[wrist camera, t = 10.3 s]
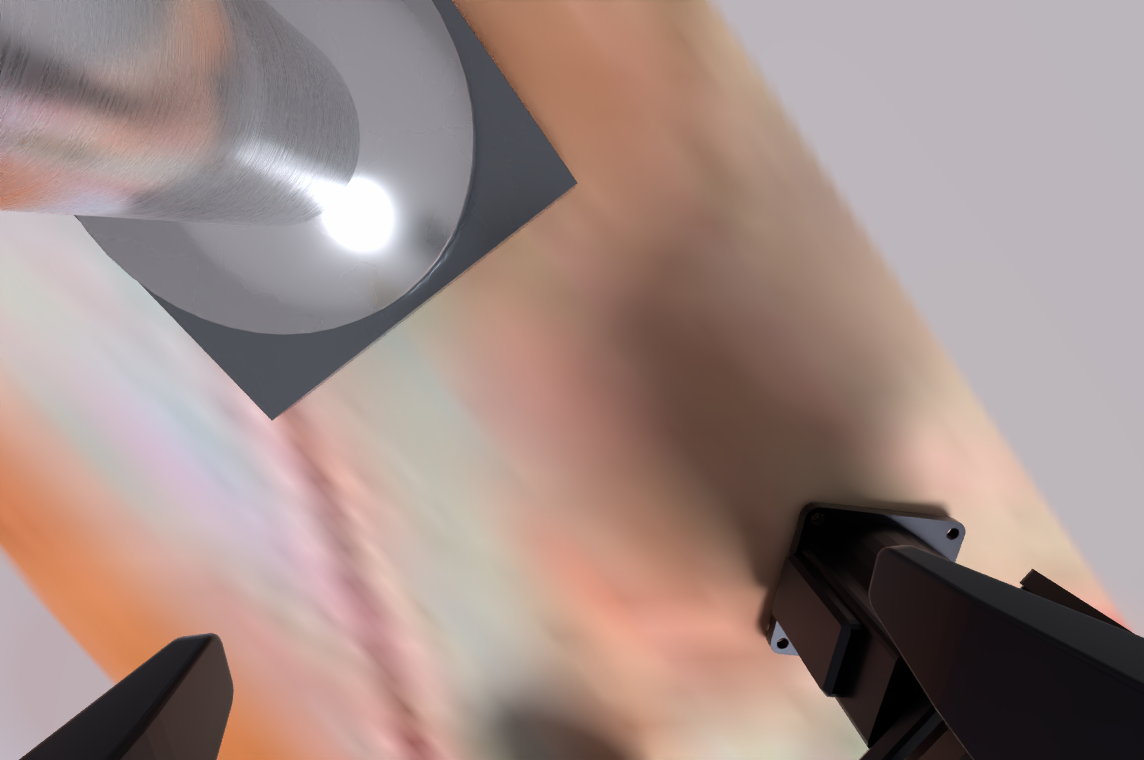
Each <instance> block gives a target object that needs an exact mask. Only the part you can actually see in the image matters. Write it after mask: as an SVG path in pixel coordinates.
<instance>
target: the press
mask: <svg viewBox="0 0 1144 760" xmlns="http://www.w3.org/2000/svg"><path fill="white" fill-rule="evenodd" d="M265 1H266V2H268V3H269V4H270V5H271V6H272V7H273V8H274V9H275V10H276V11H278V12H279V13H280V14H281V15H282V16H283V17H284V18H285V19H286V20H288V21H289V22H290V23H291V24H292V25H293V26H294V27H295V28H296V29H298V30H299V31H300V32H301V33H302V34H303V35H304V36H305V37H307V38H308V39H309V40H310V41H311V42H312V43H313V44H314V45H315V46H317V47H318V48H319V49H320V50H321V51H322V52H323V53H324V54H325V55H326V56H327V57H328V58H329V59H330V61H331V62H332V63H333V65H334V66H335V67H336V69H337V70H338V71H339V73H340V74H341V76H342V78H343V79H344V81H345V83H346V85H347V87H348V89H349V91H350V93H351V95H352V98H353V101H354V104H355V107H356V111H357V116H358V121H359V130H360V148H359V155H358V160H357V164H356V168H355V171H354V174H353V176H352V178H351V180H350V182H349V184H348V186H347V188H346V189H345V191H344V192H343V194H342V195H341V196H340V197H339V199H338V200H337V201H336V202H335V203H334V204H333V205H332V206H331V207H329V208H328V209H327V210H326V211H325V212H323V213H321V214H320V215H318V216H316V217H315V218H313V219H310V220H308V221H305V222H303V223H299V224H295V225H291V226H283V227H264V226H247V225H231V224H214V223H198V222H181V221H165V220H149V219H132V218H116V217H99V216H83V215H74V216H75V217H76V218H77V219H78V220H79V221H80V222H81V223H82V225H83V226H84V228H85V229H86V230H87V232H88V233H89V234H90V235H91V236H92V238H93V239H94V240H95V241H96V242H97V243H98V244H99V246H100V247H101V248H102V249H103V250H104V251H105V253H106V254H107V255H108V256H109V257H110V258H111V259H113V260H114V261H115V262H116V263H117V264H118V265H119V266H120V267H121V268H122V269H123V270H124V271H125V272H127V273H128V274H129V275H130V276H131V277H132V278H134V279H135V280H137V281H138V282H139V283H140V284H141V285H142V286H143V287H144V288H145V289H146V290H147V291H148V292H149V294H150V295H151V296H152V297H153V298H154V299H155V300H156V301H157V302H158V303H159V304H160V305H161V306H162V307H163V308H164V309H165V310H166V311H167V312H168V313H169V314H170V315H171V316H172V317H173V318H174V319H175V320H176V322H177V323H178V324H179V325H180V326H181V327H182V328H183V329H184V330H185V331H186V332H187V333H188V334H189V335H190V336H191V337H192V338H193V339H194V340H195V341H196V342H197V343H198V344H199V345H200V346H201V347H202V349H203V350H204V351H205V352H206V353H207V354H208V355H209V356H210V357H211V358H212V359H213V360H214V361H215V362H216V363H217V364H218V365H219V366H220V367H221V368H222V369H223V370H224V371H225V372H226V373H227V374H228V376H229V377H230V378H231V379H232V380H233V381H234V382H235V383H236V384H237V385H238V386H239V387H240V388H241V389H242V390H243V391H244V392H245V393H246V394H247V395H248V396H249V397H250V398H251V399H252V400H253V401H254V402H255V404H256V405H257V406H258V407H259V408H260V409H261V410H262V411H263V412H264V413H265V414H266V415H267V416H268V417H269V418H270V419H271V420H273V419H275V418H276V417H278V416H279V415H281V414H282V413H284V412H285V411H287V410H288V409H290V408H291V407H293V406H294V405H295V404H297V403H298V402H299V401H301V400H302V399H303V398H304V397H306V396H307V395H308V394H310V393H311V392H312V391H313V390H315V389H316V388H317V387H319V386H320V385H321V384H322V383H324V382H325V381H326V380H328V379H329V378H330V377H331V376H333V375H334V374H335V373H337V372H338V371H339V370H340V369H342V368H343V367H344V366H346V365H347V364H348V363H349V362H351V361H352V360H353V359H355V358H356V357H357V356H358V355H360V354H361V353H362V352H364V351H365V350H366V349H367V348H369V347H370V346H371V345H373V344H374V343H375V342H377V341H378V340H379V339H380V338H382V337H383V336H384V335H386V334H387V333H388V332H389V331H391V330H392V329H393V328H395V327H396V326H397V325H398V324H400V323H401V322H402V321H404V320H405V319H406V318H407V317H409V316H410V315H411V314H413V313H414V312H415V311H416V310H418V309H419V308H420V307H422V306H423V305H424V304H425V303H427V302H428V301H429V300H431V299H432V298H433V297H434V296H436V295H437V294H438V293H440V292H441V291H442V290H443V289H445V288H446V287H447V286H449V285H450V284H451V283H452V282H454V281H455V280H456V279H458V278H459V277H460V276H461V275H463V274H464V273H465V272H467V271H468V270H469V269H470V268H472V267H473V266H474V265H476V264H477V263H478V262H480V261H481V260H482V259H483V258H485V257H486V256H487V255H489V254H490V253H491V252H492V251H494V250H495V249H496V248H498V247H499V246H500V245H501V244H503V243H504V242H505V241H507V240H508V239H509V238H510V237H512V236H513V235H514V234H516V233H517V232H518V231H519V230H521V229H522V228H523V227H525V226H526V225H527V224H528V223H530V222H531V221H532V220H534V219H535V218H536V217H537V216H539V215H540V214H541V213H543V212H544V211H545V210H546V209H548V208H549V207H550V206H552V205H553V204H554V203H555V202H557V201H558V200H559V199H561V198H562V197H563V196H564V195H566V194H567V193H568V192H570V191H571V190H572V189H574V187H575V186H576V184H577V182H576V180H575V179H574V177H573V176H572V174H571V173H570V171H569V170H568V169H567V167H566V166H565V164H564V163H563V161H562V160H561V158H560V157H559V155H558V154H557V153H556V151H555V150H554V148H553V147H552V145H551V144H550V142H549V141H548V140H547V138H546V137H545V135H544V134H543V132H542V131H541V129H540V128H539V127H538V125H537V124H536V122H535V121H534V119H533V118H532V116H531V115H530V113H529V112H528V111H527V109H526V108H525V106H524V105H523V103H522V102H521V100H520V99H519V98H518V96H517V95H516V93H515V92H514V90H513V89H512V87H511V86H510V85H509V83H508V82H507V80H506V79H505V77H504V76H503V74H502V73H501V71H500V70H499V69H498V67H497V66H496V64H495V63H494V61H493V60H492V58H491V57H490V56H489V54H488V53H487V51H486V50H485V48H484V47H483V45H482V44H481V43H480V41H479V40H478V38H477V37H476V35H475V34H474V32H473V31H472V29H471V28H470V27H469V25H468V24H467V22H466V21H465V19H464V18H463V16H462V15H461V14H460V12H459V11H458V9H457V8H456V6H455V5H454V3H453V2H452V1H451V0H265Z"/></svg>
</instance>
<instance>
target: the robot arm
mask: <svg viewBox="0 0 1144 760" xmlns="http://www.w3.org/2000/svg"><path fill="white" fill-rule="evenodd" d="M816 513H819V516H818V518H816V519H815V520H812V517H813V515H815V514H816ZM950 529H951V530H950ZM948 530H950V532H949V533H947V532H948ZM964 536H965V528H964V526H963V525H962V524H961V523H959V522H958V521H956V520H955V519H953V518H950V517H944V516H935V515H926V514H917V513H908V512H899V511H890V510H882V509H873V508H864V507H855V506H846V505H837V504H828V503H819V502H812V503H809V504H807V505H805V506H804V507H803V508H802V510H801V512H800V516H799V519H798V523H797V527H796V530H795V534H794V538H793V541H792V545H791V549H790V552H789V554H788V556H787V557H786V558H785V561H784V565H783V569H782V572H781V576H780V580H779V583H778V587H777V591H776V594H775V598H774V602H773V605H772V609H771V612H772V618H771V622H770V625H769V629H768V633H767V642H768V644H769V645H770V647H771V649H772V650H773V651H774V652H775V653H778V654H785V655H797V656H800V658H801V659H802V661H803V662H804V664H805V666H806V667H807V669H808V670H809V672H810V673H811V675H812V677H813V678H814V680H815V681H816V683H817V684H818V686H819V688H820V689H821V690H822V692H823V693H824V694H825V695H826V696H827V697H835V698H836V700H837V701H838V703H839V704H840V706H841V707H842V709H843V710H844V712H845V713H846V715H847V716H848V718H849V719H850V721H851V722H852V724H853V725H854V727H855V728H856V730H857V731H858V733H859V734H860V736H861V738H862V739H863V741H864V742H865V744H866V745H867V747H868V748H869V749H868V750H867V752H866V753H865V754H864V755H863V756H862V757H861V758H860V759H859V760H1144V638H1143V637H1140V636H1138V635H1135V634H1134V633H1132V632H1131V631H1129V630H1128V629H1126V628H1125V627H1123V626H1121V625H1120V624H1118V623H1117V622H1115V621H1114V620H1112V619H1110V618H1109V617H1107V616H1106V615H1104V614H1103V613H1101V612H1099V611H1098V610H1096V609H1095V608H1093V607H1092V606H1090V605H1089V604H1087V603H1085V602H1084V601H1082V600H1081V599H1079V598H1078V597H1076V596H1074V595H1073V594H1071V593H1070V592H1068V591H1067V590H1065V589H1063V588H1062V587H1060V586H1059V585H1057V584H1056V583H1054V582H1052V581H1051V580H1049V579H1048V578H1046V577H1045V576H1043V575H1042V574H1040V573H1038V572H1037V571H1035V570H1034V569H1032V570H1031V571H1030V572H1029V573H1028V574H1027V575H1026V576H1025V577H1024V578H1023V579H1022V581H1021V582H1020V584H1022V585H1023V586H1022V587H1021V588H1017V587H1015V586H1012V585H1010V584H1007V583H1005V582H1002V581H999V580H997V579H994V578H992V577H989V576H987V575H984V574H982V573H979V572H977V571H974V570H972V569H969V568H967V567H964V566H962V565H959V564H957V563H955V561H956V558H957V555H958V553H959V550H960V547H961V544H962V541H963V539H964ZM781 638H784V639H783V640H782V641H779V642H778V640H779V639H781ZM232 701H233V682H232V678H231V674H230V670H229V666H228V663H227V659H226V655H225V651H224V648H223V644H222V641H221V639H220V638H219V636H218V635H216V634H213V633H207V634H199V635H192V636H184V637H180V638H177V639H175V640H174V641H172V642H171V643H169V644H168V645H167V646H165V647H164V648H163V649H161V650H160V651H159V652H158V653H156V654H155V655H154V656H152V657H151V658H150V659H149V660H147V661H146V662H145V663H143V664H142V665H141V666H139V667H138V668H137V669H136V670H134V671H133V672H132V673H130V674H129V675H128V676H127V677H125V678H124V679H123V680H121V681H120V682H119V683H118V684H116V685H115V686H114V687H112V688H111V689H110V690H109V691H107V692H106V693H105V694H103V695H102V696H101V697H99V698H98V699H97V700H96V701H94V702H93V703H92V704H91V705H89V706H88V707H87V708H85V709H84V710H83V711H81V712H80V713H79V714H77V715H76V716H75V717H74V718H72V719H71V720H70V721H68V722H67V723H66V724H65V725H63V726H62V727H61V728H59V729H58V730H57V731H56V732H54V733H53V734H52V735H51V736H49V737H48V738H46V739H45V740H44V741H43V742H41V743H40V744H39V745H37V746H36V747H35V748H34V749H32V750H31V751H30V752H29V753H27V754H26V755H25V756H23V757H22V758H21V759H19V760H217V756H218V753H219V749H220V745H221V742H222V738H223V735H224V731H225V728H226V724H227V720H228V717H229V713H230V710H231V706H232Z"/></svg>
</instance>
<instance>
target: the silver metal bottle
mask: <svg viewBox="0 0 1144 760" xmlns="http://www.w3.org/2000/svg"><path fill="white" fill-rule="evenodd" d="M359 148H360V130H359V121H358V116H357V111H356V107H355V104H354V101H353V98H352V95H351V93H350V91H349V89H348V87H347V85H346V83H345V81H344V79H343V78H342V76H341V74H340V73H339V71H338V70H337V69H336V67H335V66H334V65H333V63H332V62H331V61H330V59H329V58H328V57H327V56H326V55H325V54H324V53H323V52H322V51H321V50H320V49H319V48H318V47H317V46H315V45H314V44H313V43H312V42H311V41H310V40H309V39H308V38H307V37H305V36H304V35H303V34H302V33H301V32H300V31H299V30H298V29H296V28H295V27H294V26H293V25H292V24H291V23H290V22H289V21H288V20H286V19H285V18H284V17H283V16H282V15H281V14H280V13H279V12H278V11H276V10H275V9H274V8H273V7H272V6H271V5H270V4H269V3H268V2H266V1H265V0H0V211H17V212H33V213H50V214H66V215H83V216H99V217H116V218H132V219H149V220H165V221H181V222H198V223H214V224H231V225H247V226H264V227H283V226H291V225H295V224H299V223H303V222H305V221H308V220H310V219H313V218H315V217H316V216H318V215H320V214H321V213H323V212H325V211H326V210H327V209H328V208H329V207H331V206H332V205H333V204H334V203H335V202H336V201H337V200H338V199H339V197H340V196H341V195H342V194H343V192H344V191H345V189H346V188H347V186H348V184H349V182H350V180H351V178H352V176H353V174H354V171H355V168H356V164H357V160H358V155H359Z"/></svg>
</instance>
